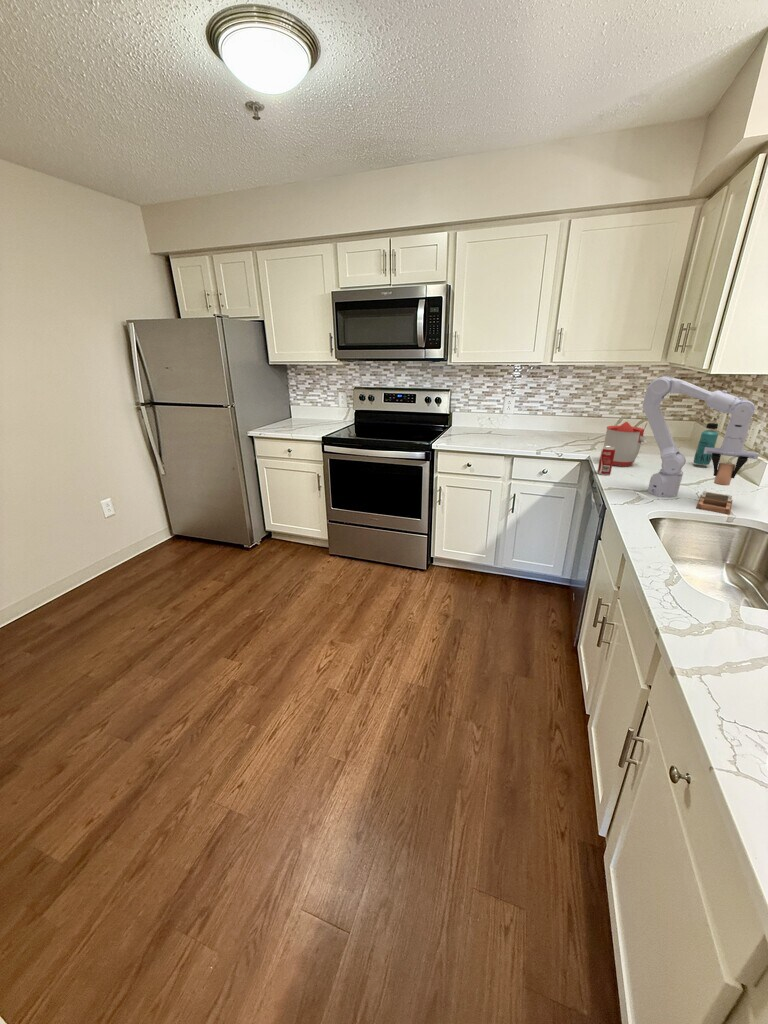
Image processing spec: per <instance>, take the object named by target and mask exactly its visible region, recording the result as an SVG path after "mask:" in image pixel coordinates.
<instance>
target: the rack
mask: <svg viewBox="0 0 768 1024" xmlns="http://www.w3.org/2000/svg"><path fill="white" fill-rule="evenodd" d="M732 498H733V497H732V495H729V494H722V493H717V492H711V491H710V492H709V491H704V490H703V491H702V494H700V496H699V498H698V501H697V504H696V506H695V509H696V510H702V511H707V512H711V513H712V512H713V513H717V514H722V515H728V516H730V515H731V510H732V505H733V499H732Z"/></svg>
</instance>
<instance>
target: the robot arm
mask: <svg viewBox="0 0 768 1024" xmlns="http://www.w3.org/2000/svg"><path fill="white" fill-rule="evenodd" d="M676 393H677V394H679V393H682V394H684V395H688V396H691V397H693V398H695V399H698V400H701V401H704V402H705V404H706V407H709V408H710V409H713V410H716V411H718V412H721V413H723V414H727V415H728V414H729V415H731V416H730V419H729V422H728V423H727V426H726V430H725V434H724V437H723V440H722V443H721V447H715V448H709V447H705V450H704V454H712V456H711V457H712V459H711V462H712V464H713V474H712V476H714V477H716V473H717V470H718V466H719V463H720V459H721V456H726V457H735V458H737V460H736V463H735V468H734V471H733V475H732V478H731V479H735V478H736V476H737V473H738V472H739V471H740V469H742V467H743V466H744V465H745V464H746V463H747V462H748V459H753V460H758V458H759V455H760V453H759V452H754V451H748V450H743V449H744V446H745V442H746V439H747V437H748V433H749V430H750V426H751V424H750V423H751V422H752V417H753V416H754V414H755V409H756V406H755V404H754V403H753V402H752V401H750V400H749V399H744V397H742V396H738V397H737V396H735V395H733V394H730V393H728V391H727V390H725V389H722V390H718V389H717V390H715V391H710V390H707V389H705V388H702V387H700V386H697V385H695V384H693V383H690V382H689V381H686V380H683V379H679V378H676V377H671V376H669V375H663V376H660V377H657V378H656V377H655V379H653V380H652V381H651V382H650V383H649V385H647V388H646V389H645V394H644V395H645V396H644V399H643V403H642V409H643V411H644V414H645V417H646V419H647V421H648V424H649V427H650V429H651V431H652V434H653V436H654V439H655V441H656V444H657V446H658V449H659V452H660V453H659V454H660V459H661V468H660V470H659V471H658V472H656V473H653V474H652V475H651V476H650V479H649V484H648V487H647V493H648V494H651V495H654V496H656V497H658V498H660V497H661V498H665V497H670V498H671V497H672V498H674V497H677V496H678V493H679V491H680V486H681V482H682V480H683V475H684V472H683V470H682V469H683V467H684V466H685V465H686V460H687V459H686V457H685V455H683V453H681V452H680V450H679V448H678V447H677V445H676V444H675V441H674V439H673V438H674V437H673V435H672V433H671V432H670V429H669V426H668V424H667V422H666V419H665V417H664V416H665V415H664V414H663V412H662V409H661V406H660V405H661V403H662V401H663V400H664V398H665V397H666V396H667V395H668V394H676Z"/></svg>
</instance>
